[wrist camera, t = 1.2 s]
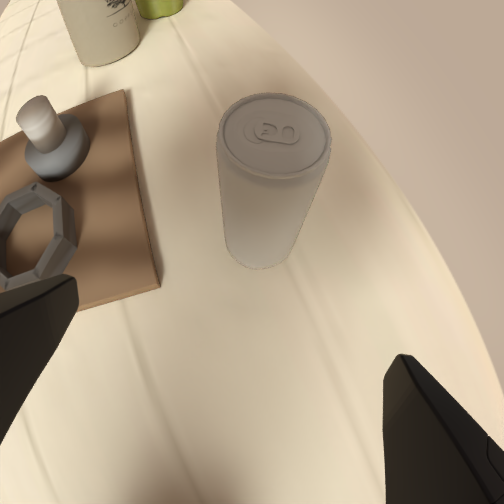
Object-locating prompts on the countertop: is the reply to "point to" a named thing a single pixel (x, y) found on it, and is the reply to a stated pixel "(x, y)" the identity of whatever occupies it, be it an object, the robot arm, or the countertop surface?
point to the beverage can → (269, 174)
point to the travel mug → (100, 29)
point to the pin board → (74, 202)
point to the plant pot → (158, 8)
